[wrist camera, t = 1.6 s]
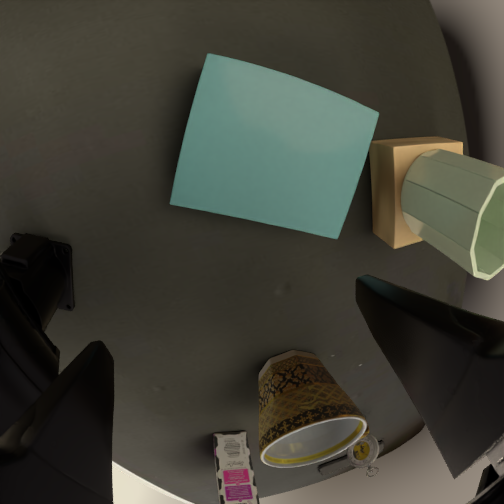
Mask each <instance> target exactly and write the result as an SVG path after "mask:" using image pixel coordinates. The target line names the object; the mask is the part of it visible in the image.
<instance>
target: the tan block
mask: <svg viewBox="0 0 504 504" xmlns="http://www.w3.org/2000/svg"><path fill="white" fill-rule="evenodd" d="M437 149H443V150H446V151H450V152H454V153H457V154H461V155H463V143H462V142H460V141H455V140H451V139H446V138H442V137H437V136H435V137H415V138H400V139H387V140H376V141H371V143H370V147H369V156H370V169H371V186H372V217H373V233H374V234H375V235H377V236H378V237H379V238H381V239H382V240H383V241H384V242H386V243H387V244H388V245H390V246H391V247H392V248H393V249H396V248H399V247H402V246H406V245H409V244H412V243H416V242H419V241H422V240H423V239H422V238H420V237H419V236H417V235H416V234H414V233H413V232H412V231H411V230H410V227H409V226H408V225H407V223H406V221H405V219H404V217H403V214H402V209H401V191H402V185H403V182H404V179H405V176H406V174H407V172H408V170H409V168H410V166H411V165H412V163H413V162H414V161H415V160H416V159H417V158H418V157H419V156H420V155H422V154H423V153H425V152H427V151H431V150H437Z"/></svg>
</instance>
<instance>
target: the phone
mask: <svg viewBox="0 0 504 504" xmlns="http://www.w3.org/2000/svg"><path fill="white" fill-rule="evenodd" d="M378 444H379V453H380V452H382V450H383V447H384V442H383V441H381V442H378ZM357 453H358V452H356V454H357ZM379 453H378V454H379ZM358 455H359V454H358ZM358 455H357V456H358ZM359 457H360V456H358V458H359ZM359 459H360V458H359ZM348 466H351V464H350V462H349V461H348V458H347V456H345V457H343V458H340V459H337V460H335V461H332V462H329V463H326V464H323V465H321V466H320V467H319V469H320V472H321V474H322V475H326V474H329V473H332V472H335V471H338V470H340V469H343V468H346V467H348Z"/></svg>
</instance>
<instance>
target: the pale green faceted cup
mask: <svg viewBox="0 0 504 504" xmlns="http://www.w3.org/2000/svg"><path fill="white" fill-rule="evenodd" d="M401 209H402V214H403V217H404V219H405V221H406V223H407V225H408V226H409V227H410V230H411V231H412V232H413V233H414V234H416V235H417V236H419V237H420V238H422V239H423V240H425V241H426V242H428V243H429V244H431V245H432V246H433V247H435V248H436V249H438V250H439V251H441V252H442V253H443V254H445V255H446V256H447V257H449V258H450V259H452V260H453V261H454V262H456V263H457V264H458V265H460V266H461V267H462V268H464V269H465V270H466V271H468V272H469V273H470V274H472V275H473V276H474V277H478V278H481V279H485V280H489V279H491V278H492V277H493V276H494V275H496V274H497V273H498V272H499V271H501V270H502V269H503V268H504V168H501V167H499V166H496V165H493V164H490V163H487V162H484V161H481V160H478V159H474V158H471V157H468V156H464V155H461V154H457V153H454V152H450V151H446V150H443V149H437V150H431V151H427V152H425V153H423V154H422V155H420V156H419V157H418V158H417V159H416V160H415V161H414V162H413V163H412V165H411V166H410V168H409V170H408V172H407V174H406V176H405V179H404V182H403V185H402V191H401Z"/></svg>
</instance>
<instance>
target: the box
mask: <svg viewBox="0 0 504 504" xmlns="http://www.w3.org/2000/svg"><path fill="white" fill-rule="evenodd" d="M378 116H379V113H378V112H376V111H374V110H372V109H370V108H368V107H366V106H364V105H362V104H360V103H358V102H356V101H354V100H351V99H349V98H347V97H345V96H342V95H340V94H338V93H335V92H333V91H331V90H328V89H326V88H323V87H321V86H318V85H316V84H313V83H310V82H308V81H305V80H302V79H299V78H297V77H294V76H291V75H288V74H285V73H282V72H279V71H276V70H272V69H269V68H266V67H262V66H259V65H256V64H252V63H248V62H244V61H241V60H237V59H233V58H228V57H224V56H220V55H215V54H210V53H208V54H207V57H206V60H205V63H204V66H203V69H202V73H201V76H200V79H199V83H198V86H197V89H196V93H195V96H194V100H193V104H192V107H191V111H190V115H189V119H188V122H187V126H186V130H185V134H184V138H183V143H182V147H181V151H180V155H179V160H178V164H177V169H176V174H175V179H174V183H173V188H172V193H171V199H170V204H171V205H176V206H181V207H187V208H192V209H197V210H202V211H207V212H212V213H218V214H223V215H228V216H232V217H237V218H242V219H247V220H252V221H257V222H261V223H266V224H271V225H276V226H280V227H285V228H289V229H294V230H298V231H303V232H307V233H312V234H316V235H321V236H325V237H329V238H334V239H338V237H339V234H340V231H341V229H342V226H343V223H344V221H345V218H346V215H347V212H348V210H349V207H350V204H351V201H352V198H353V195H354V193H355V190H356V187H357V184H358V181H359V178H360V175H361V172H362V169H363V166H364V163H365V159H366V156H367V153H368V150H369V147H370V143H371V140H372V137H373V133H374V130H375V127H376V123H377V120H378Z"/></svg>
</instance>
